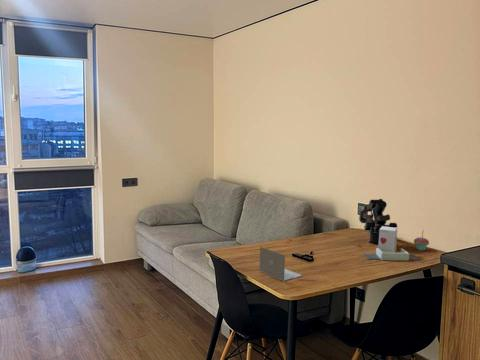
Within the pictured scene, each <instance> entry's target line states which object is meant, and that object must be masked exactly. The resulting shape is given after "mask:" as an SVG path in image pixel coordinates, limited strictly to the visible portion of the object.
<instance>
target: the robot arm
mask: <svg viewBox="0 0 480 360" xmlns="http://www.w3.org/2000/svg"><path fill="white" fill-rule="evenodd" d="M385 209H387V202H386V201H385V200H383V198H379V199H370V200H369V203H368V204H367V205H364V206H363V209H362V210H361V211H360V212H359V217H358V220H359V222H360V223H361V224H365V225H364V227H363V228H364V229H363V230H364V231H366V232H368V234H369V235H370V237H369V241H368V243H369V244H373V245H379V230H380V228H381V227H382V226H385V227H393V228H398V224H397V222H389V224H387V222H388V221H390V220H391V216H390V214H385V215H384V214H383V213H384V212H385ZM366 212H370V214H365V213H366Z"/></svg>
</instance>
